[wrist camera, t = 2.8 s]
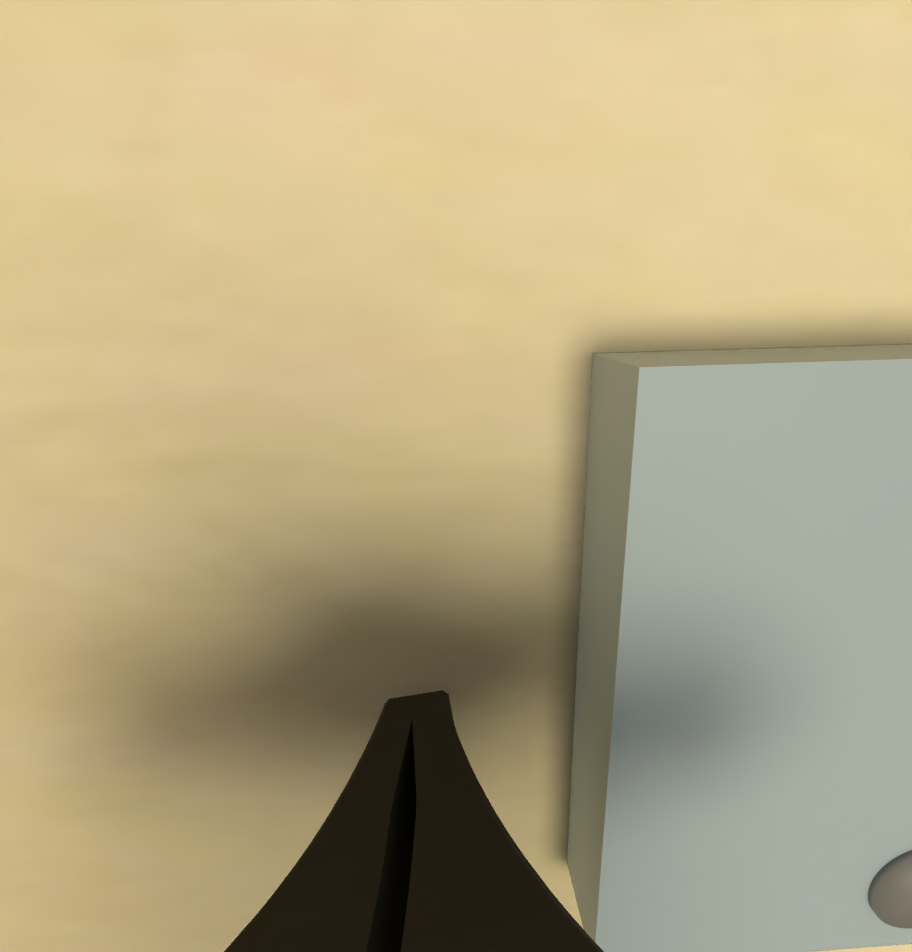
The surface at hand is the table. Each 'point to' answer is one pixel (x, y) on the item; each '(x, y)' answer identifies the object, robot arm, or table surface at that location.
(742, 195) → the table surface
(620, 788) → the door
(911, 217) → the table surface
